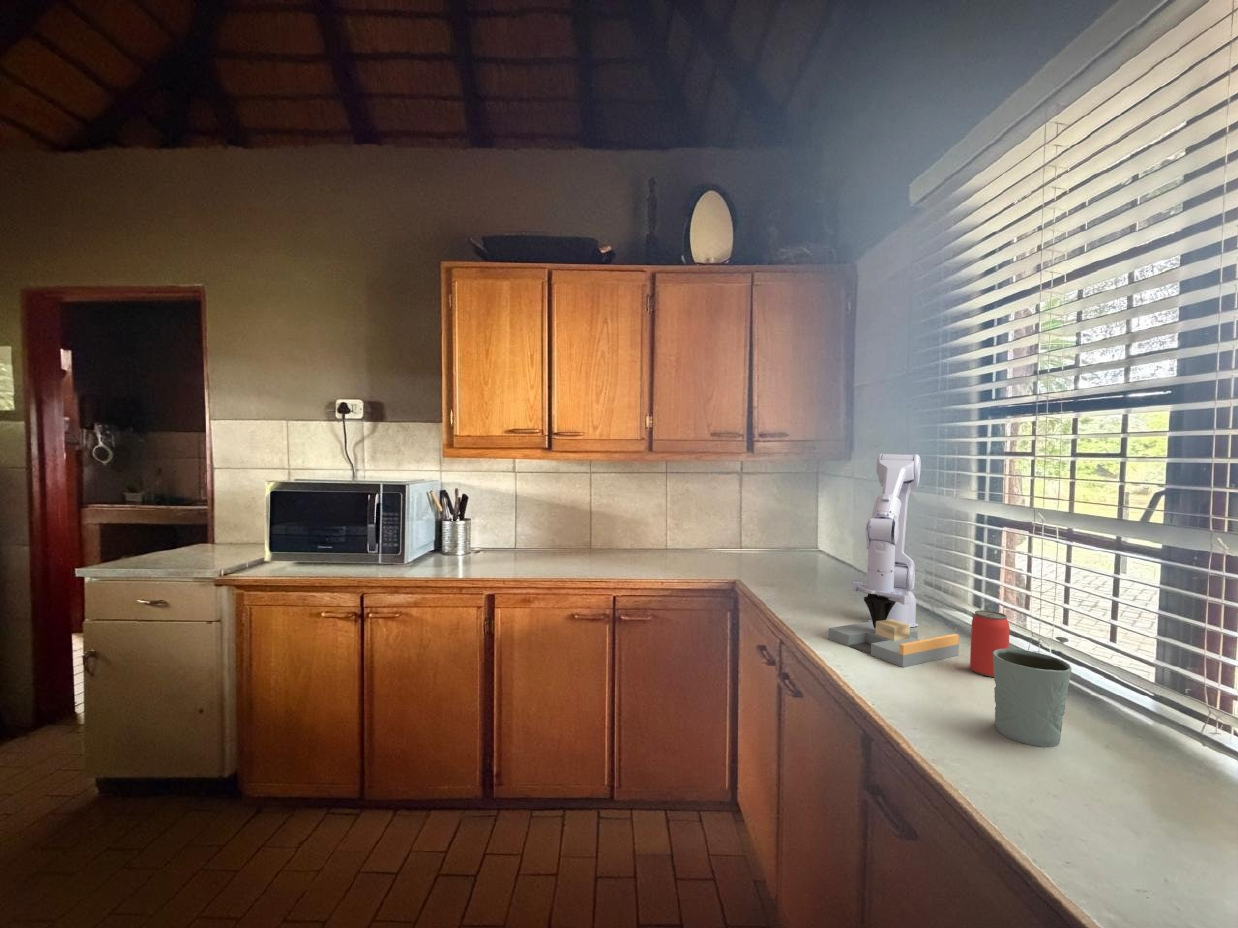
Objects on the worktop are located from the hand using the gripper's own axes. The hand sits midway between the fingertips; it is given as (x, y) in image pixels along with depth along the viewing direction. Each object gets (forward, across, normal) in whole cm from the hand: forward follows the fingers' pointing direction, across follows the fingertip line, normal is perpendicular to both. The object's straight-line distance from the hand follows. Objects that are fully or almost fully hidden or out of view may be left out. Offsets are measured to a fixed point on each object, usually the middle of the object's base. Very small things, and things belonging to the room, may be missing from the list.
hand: (878, 627), depth 138 cm
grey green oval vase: (+4, +42, -16) cm, 45 cm away
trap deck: (+3, +4, 0) cm, 5 cm away
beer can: (+3, +22, +5) cm, 23 cm away
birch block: (+1, +4, 0) cm, 4 cm away
